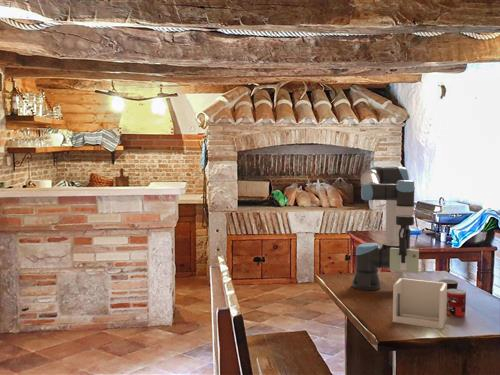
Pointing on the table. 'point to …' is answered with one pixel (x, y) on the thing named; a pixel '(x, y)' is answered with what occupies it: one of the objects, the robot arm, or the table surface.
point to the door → (411, 260)
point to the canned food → (456, 303)
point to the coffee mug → (450, 283)
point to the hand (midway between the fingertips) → (404, 269)
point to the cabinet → (420, 302)
